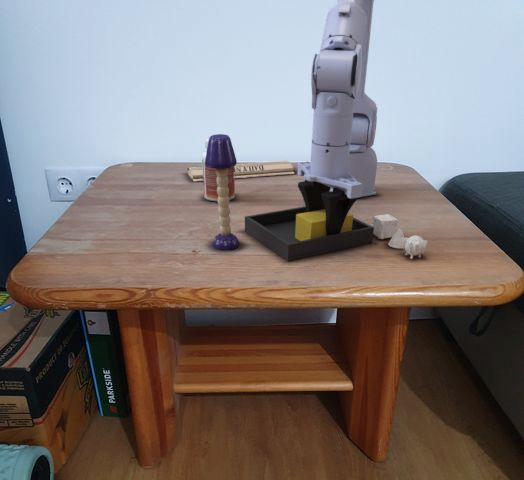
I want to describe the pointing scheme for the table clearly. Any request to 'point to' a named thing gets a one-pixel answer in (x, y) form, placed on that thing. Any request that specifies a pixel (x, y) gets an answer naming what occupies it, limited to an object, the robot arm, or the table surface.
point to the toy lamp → (222, 186)
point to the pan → (287, 246)
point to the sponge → (316, 225)
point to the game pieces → (397, 235)
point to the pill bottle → (211, 177)
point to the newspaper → (249, 170)
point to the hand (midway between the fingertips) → (323, 230)
